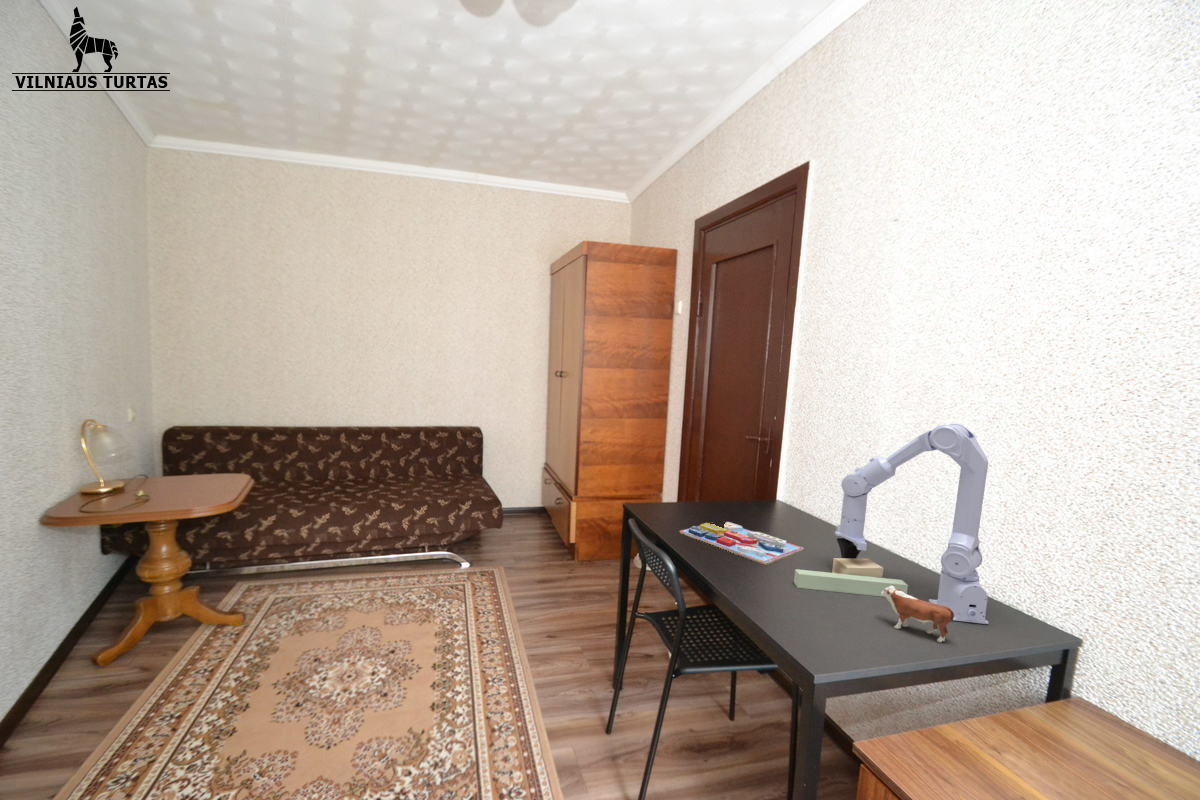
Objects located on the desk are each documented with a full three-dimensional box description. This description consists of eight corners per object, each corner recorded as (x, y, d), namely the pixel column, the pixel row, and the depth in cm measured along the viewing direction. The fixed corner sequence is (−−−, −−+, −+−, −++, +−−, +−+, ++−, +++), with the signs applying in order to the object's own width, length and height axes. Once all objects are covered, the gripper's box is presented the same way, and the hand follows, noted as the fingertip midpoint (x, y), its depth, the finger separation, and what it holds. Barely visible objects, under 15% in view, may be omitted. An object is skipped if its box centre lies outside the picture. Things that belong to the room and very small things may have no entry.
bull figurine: (878, 615, 112) (882, 580, 111) (951, 639, 103) (956, 601, 103) (874, 622, 108) (879, 586, 108) (949, 647, 100) (954, 608, 99)
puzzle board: (804, 551, 151) (805, 543, 151) (765, 568, 136) (766, 559, 135) (719, 523, 174) (720, 515, 173) (678, 534, 158) (679, 526, 158)
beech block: (881, 586, 128) (883, 567, 127) (846, 586, 126) (848, 567, 126) (865, 576, 134) (867, 558, 133) (831, 576, 132) (833, 558, 132)
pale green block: (906, 599, 121) (907, 585, 121) (797, 587, 123) (799, 574, 123) (899, 593, 124) (901, 579, 124) (793, 582, 126) (795, 569, 126)
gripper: (827, 508, 141) (822, 555, 142) (848, 524, 127) (843, 576, 128) (853, 511, 140) (847, 557, 141) (877, 527, 126) (871, 579, 127)
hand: (847, 566), depth 134 cm, fingers closed
